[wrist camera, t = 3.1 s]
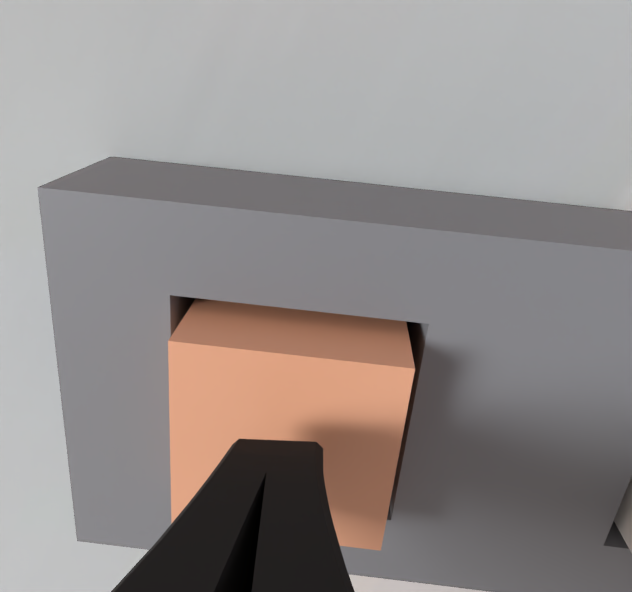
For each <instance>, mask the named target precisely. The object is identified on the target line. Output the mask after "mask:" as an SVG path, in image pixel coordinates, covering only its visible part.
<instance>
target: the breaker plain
mask: <svg viewBox="0 0 632 592" xmlns="http://www.w3.org/2000/svg"><path fill="white" fill-rule="evenodd" d="M614 522H615V524H616V526H617V528H618V529H619V531H620V533H621V535H622V537H623V539H624V540H625V542H626V544H627V546H628V548H629V549H630V551H631V553H632V477H631V479H630V482H629V484H628V487H627V489H626V492H625V494H624V496H623V499H622V501H621V504H620V506H619V509H618V511H617V514H616V516H615V518H614Z"/></svg>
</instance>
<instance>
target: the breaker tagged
mask: <svg viewBox="0 0 632 592" xmlns="http://www.w3.org/2000/svg"><path fill="white" fill-rule="evenodd" d="M168 367H169V420H170V473H171V524H172V523H173V521H174V520H175V519H176V518H177V516H178V515H179V514H180V513H181V512H182V510H183V509H184V508H185V507H186V506H187V504H188V503H189V502H190V501H191V499H192V498H193V497H194V496H195V494H196V493H197V492H198V490H199V489H200V488H201V487H202V485H203V484H204V483H205V481H206V480H207V479H208V477H209V476H210V475H211V473H212V472H213V471H214V469H215V468H216V467H217V465H218V464H219V462H220V461H221V460H222V458H223V457H224V456H225V454H226V453H227V451H228V450H229V448H230V447H231V446H232V444H233V443H235V442H236V441H237V440H238V439H260V440H286V441H312V442H317V443H318V444H319V445H320V446H321V447H322V448H323V473H324V481H325V488H326V493H327V498H328V503H329V508H330V512H331V516H332V520H333V524H334V528H335V531H336V535H337V538H338V542H339V545H340V546H346V547H354V548H362V549H371V550H379V551H381V547H382V542H383V537H384V531H385V526H386V521H387V515H388V510H389V505H390V499H391V494H392V489H393V484H394V478H395V473H396V468H397V462H398V457H399V452H400V447H401V441H402V436H403V431H404V425H405V420H406V415H407V410H408V404H409V399H410V394H411V388H412V383H413V378H414V372H415V365H414V360H413V354H412V349H411V344H410V338H409V333H408V328H407V322H406V321H398V320H389V319H380V318H371V317H362V316H353V315H344V314H335V313H326V312H317V311H308V310H299V309H290V308H281V307H272V306H263V305H254V304H245V303H236V302H227V301H218V300H209V299H200V298H196V299H195V300H194V302H193V304H192V305H191V307H190V308H189V310H188V311H187V313H186V314H185V316H184V317H183V319H182V320H181V322H180V323H179V325H178V326H177V328H176V329H175V331H174V333H173V334H172V336H171V337H170V339H169V340H168Z"/></svg>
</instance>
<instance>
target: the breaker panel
mask: <svg viewBox="0 0 632 592" xmlns="http://www.w3.org/2000/svg"><path fill="white" fill-rule="evenodd" d="M38 196H39V205H40V213H41V222H42V231H43V240H44V249H45V258H46V267H47V276H48V285H49V294H50V303H51V312H52V321H53V329H54V338H55V347H56V356H57V365H58V374H59V383H60V392H61V401H62V410H63V419H64V428H65V436H66V445H67V454H68V463H69V472H70V481H71V490H72V499H73V508H74V517H75V526H76V535H77V541H82V542H90V543H98V544H106V545H114V546H123V547H131V548H139V549H147V550H150V549H151V548H152V546H153V545H154V544H155V543H156V542H157V541H158V539H159V538H160V537H161V536H162V535H163V533H164V532H165V531H166V530H167V529H168V527H169V526H170V525H171V473H170V420H169V367H168V340H169V339H170V337H171V336H172V334H173V333H174V331H175V329H176V328H177V326H178V325H179V323H180V322H181V320H182V319H183V317H184V316H185V314H186V313H187V311H188V310H189V308H190V307H191V305H192V304H193V302H194V300H195V299H196V298H200V299H209V300H218V301H227V302H236V303H245V304H254V305H263V306H272V307H281V308H290V309H299V310H308V311H317V312H326V313H335V314H344V315H353V316H362V317H371V318H380V319H389V320H398V321H406V322H407V328H408V333H409V338H410V344H411V349H412V354H413V360H414V365H415V372H414V378H413V383H412V388H411V394H410V399H409V404H408V410H407V415H406V420H405V425H404V431H403V436H402V441H401V447H400V452H399V457H398V462H397V468H396V473H395V478H394V484H393V489H392V494H391V499H390V505H389V510H388V515H387V521H386V526H385V531H384V537H383V542H382V547H381V551H379V550H371V549H362V548H354V547H346V546H340V549H341V552H342V555H343V559H344V562H345V565H346V568H347V571H348V574H352V575H360V576H368V577H376V578H384V579H393V580H401V581H409V582H417V583H425V584H433V585H442V586H450V587H458V588H466V589H474V590H483V591H491V592H632V553H631V551H630V549H629V548H628V546H627V544H626V542H625V540H624V539H623V537H622V535H621V533H620V531H619V529H618V528H617V526H616V524H615V522H614V518H615V516H616V514H617V511H618V509H619V506H620V504H621V501H622V499H623V496H624V494H625V492H626V489H627V487H628V484H629V482H630V479H631V477H632V211H623V210H613V209H604V208H594V207H585V206H575V205H566V204H556V203H547V202H537V201H528V200H518V199H508V198H499V197H489V196H480V195H470V194H461V193H451V192H442V191H432V190H423V189H413V188H404V187H394V186H385V185H375V184H366V183H356V182H346V181H337V180H327V179H318V178H308V177H299V176H289V175H280V174H270V173H261V172H251V171H242V170H232V169H223V168H213V167H204V166H194V165H185V164H175V163H165V162H156V161H146V160H137V159H127V158H118V157H109V158H106V159H104V160H102V161H99V162H97V163H94V164H92V165H90V166H87V167H85V168H83V169H80V170H78V171H75V172H73V173H71V174H68V175H66V176H63V177H61V178H59V179H56V180H54V181H52V182H49V183H47V184H44V185H42V186H40V187H38Z"/></svg>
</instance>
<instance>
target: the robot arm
mask: <svg viewBox="0 0 632 592" xmlns="http://www.w3.org/2000/svg"><path fill="white" fill-rule="evenodd" d="M111 592H354V589H353V586H352V584H351V581H350V578H349V574H348V571H347V568H346V565H345V562H344V559H343V555H342V552H341V549H340V545H339V542H338V538H337V535H336V531H335V528H334V524H333V520H332V516H331V512H330V508H329V503H328V498H327V493H326V488H325V481H324V473H323V448H322V447H321V446H320V445H319V444H318V443H317V442H312V441H286V440H260V439H238V440H237V441H236V442H235V443H233V444H232V446H231V447H230V448H229V450H228V451H227V453H226V454H225V456H224V457H223V458H222V460H221V461H220V462H219V464H218V465H217V467H216V468H215V469H214V471H213V472H212V473H211V475H210V476H209V477H208V479H207V480H206V481H205V483H204V484H203V485H202V487H201V488H200V489H199V490H198V492H197V493H196V494H195V496H194V497H193V498H192V499H191V501H190V502H189V503H188V504H187V506H186V507H185V508H184V509H183V510H182V512H181V513H180V514H179V515H178V516H177V518H176V519H175V520H174V521H173V523H172V524H171V525H170V526H169V527H168V529H167V530H166V531H165V532H164V533H163V535H162V536H161V537H160V538H159V539H158V541H157V542H156V543H155V544H154V545H153V546H152V548H151V549H150V550H149V551H148V552H147V553H146V554H145V555H144V556H143V558H142V559H141V560H140V561H139V562H138V563H137V564H136V565H135V566H134V567H133V568H132V570H131V571H130V572H129V573H128V574H127V575H126V576H125V577H124V578H123V579H122V580H121V582H120V583H119V584H118V585H117V586H116V587H115V588H114V589H113V590H112V591H111Z"/></svg>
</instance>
